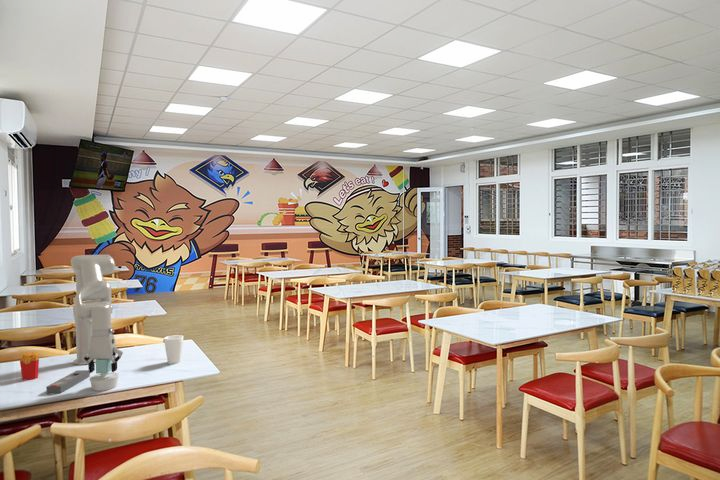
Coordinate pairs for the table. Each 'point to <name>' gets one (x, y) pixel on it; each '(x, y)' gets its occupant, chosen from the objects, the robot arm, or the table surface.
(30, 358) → the french fries
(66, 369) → the table surface
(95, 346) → the robot arm
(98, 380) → the ramekin
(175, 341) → the foam cup
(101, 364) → the block
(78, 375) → the power strip
